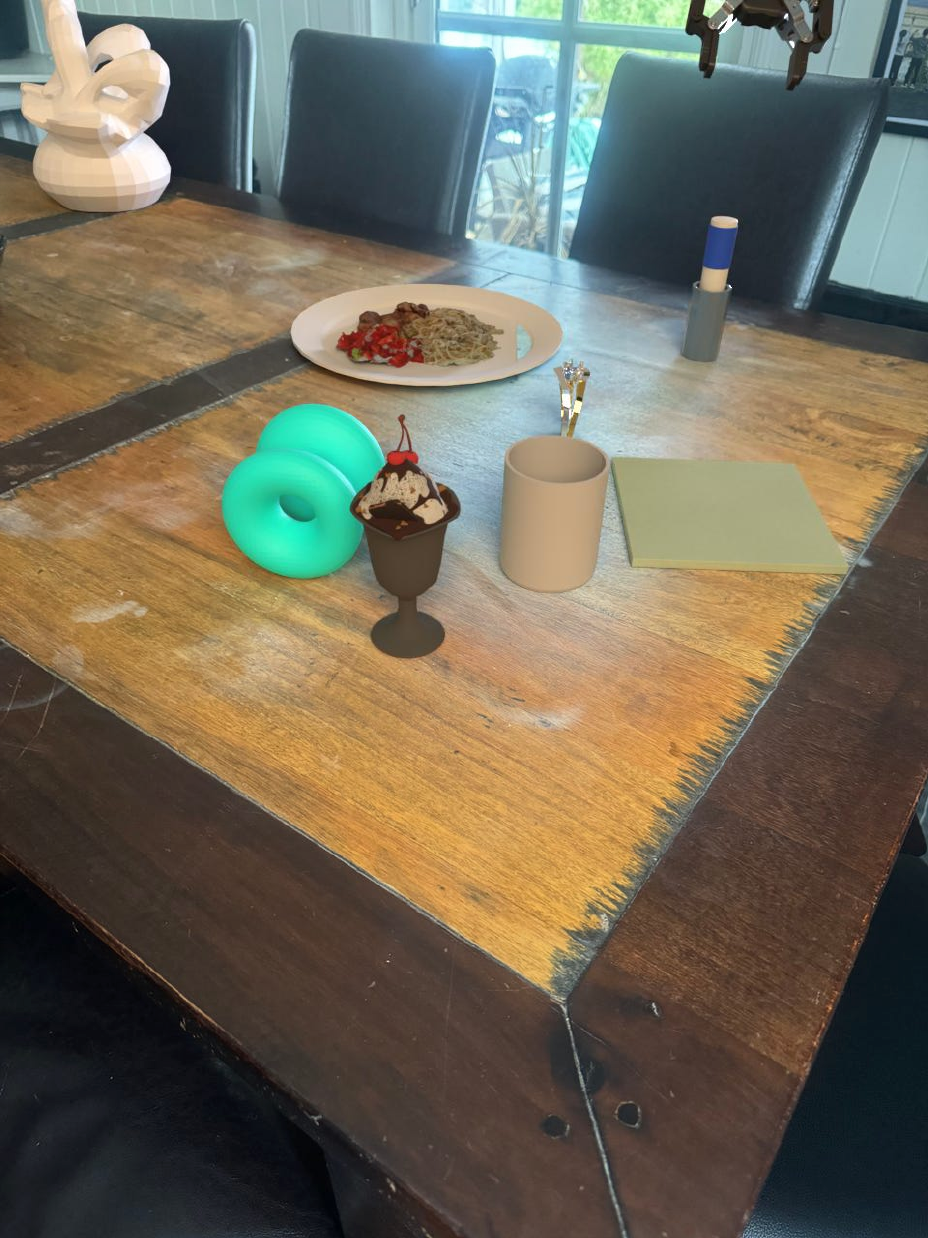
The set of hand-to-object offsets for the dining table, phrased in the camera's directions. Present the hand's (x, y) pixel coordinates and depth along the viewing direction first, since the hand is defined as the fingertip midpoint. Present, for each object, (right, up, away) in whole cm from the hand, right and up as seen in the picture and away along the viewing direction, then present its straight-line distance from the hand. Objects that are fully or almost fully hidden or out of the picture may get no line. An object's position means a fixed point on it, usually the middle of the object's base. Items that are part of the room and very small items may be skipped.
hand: (750, 79), depth 92 cm
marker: (-3, -26, +8) cm, 27 cm away
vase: (-87, +14, +57) cm, 104 cm away
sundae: (-33, -56, -31) cm, 72 cm away
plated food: (-33, -24, +10) cm, 42 cm away
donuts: (-41, -49, -23) cm, 68 cm away
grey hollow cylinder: (-3, -26, +8) cm, 28 cm away
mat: (-8, -46, -18) cm, 50 cm away
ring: (-20, -39, -9) cm, 45 cm away
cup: (-23, -50, -23) cm, 60 cm away
